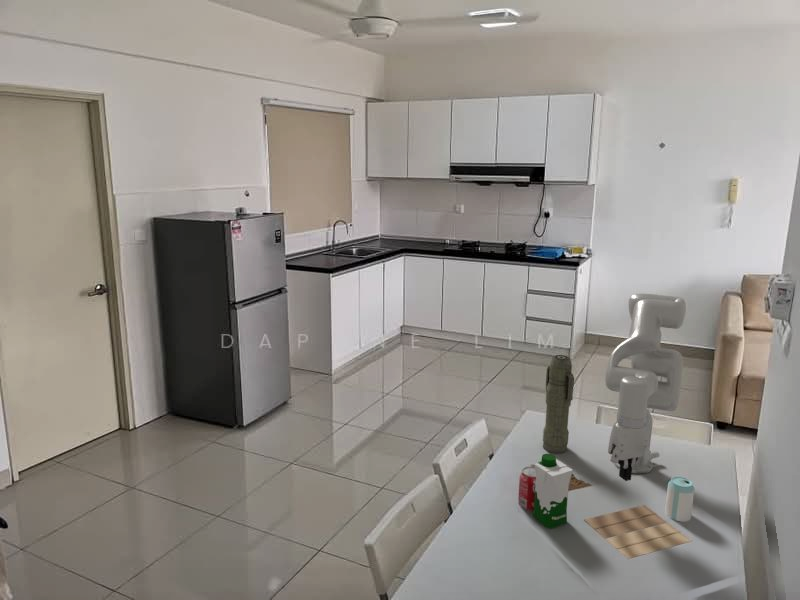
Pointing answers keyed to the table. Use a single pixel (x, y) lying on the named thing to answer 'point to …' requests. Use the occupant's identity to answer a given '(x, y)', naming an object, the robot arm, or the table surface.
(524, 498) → the soda can
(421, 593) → the table surface
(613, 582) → the table surface
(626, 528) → the plank
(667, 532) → the oak board
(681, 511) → the can
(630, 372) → the robot arm
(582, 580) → the table surface
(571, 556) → the table surface
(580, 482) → the wooden fragment
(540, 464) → the milk carton
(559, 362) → the thermos
